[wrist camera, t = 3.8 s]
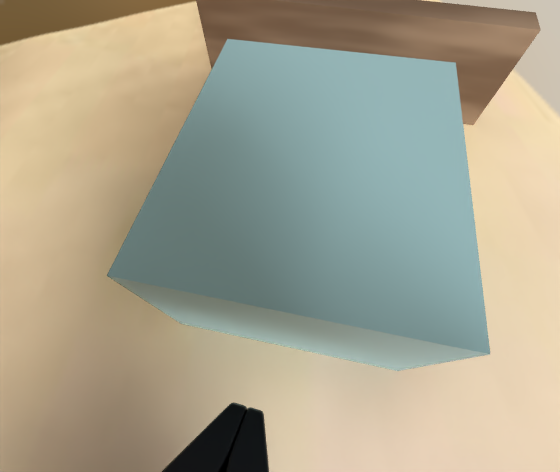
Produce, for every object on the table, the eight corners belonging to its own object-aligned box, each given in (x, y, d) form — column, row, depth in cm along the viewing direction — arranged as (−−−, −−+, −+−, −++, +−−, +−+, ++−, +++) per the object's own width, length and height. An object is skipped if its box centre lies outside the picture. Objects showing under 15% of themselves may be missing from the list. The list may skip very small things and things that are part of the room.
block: (396, 371, 15) (490, 354, 8) (181, 324, 17) (107, 275, 10) (400, 168, 22) (455, 62, 15) (245, 146, 23) (227, 38, 16)
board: (473, 124, 24) (540, 29, 17) (215, 85, 26) (194, -9, 20) (471, 108, 24) (535, 12, 18) (222, 71, 27) (204, -23, 21)
